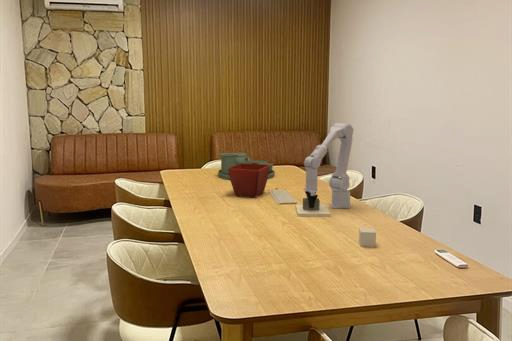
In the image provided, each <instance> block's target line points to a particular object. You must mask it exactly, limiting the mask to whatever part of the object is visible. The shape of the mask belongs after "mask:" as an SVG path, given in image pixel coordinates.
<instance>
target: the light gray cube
mask: <svg viewBox="0 0 512 341" xmlns="http://www.w3.org/2000/svg"><path fill="white" fill-rule="evenodd" d="M358 230H359V231H358V244H359V246H360V247H372V248H373V247H375V248H376V245H377V243H376V241H377V231H376V229H375V228H373V227H359V228H358Z"/></svg>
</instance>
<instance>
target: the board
mask: <svg viewBox="0 0 512 341" xmlns="http://www.w3.org/2000/svg"><path fill="white" fill-rule="evenodd" d="M294 205H295V211H296V214H297V217H302V218H303V217H306V218H307V217H308V218H309V217H312V218H313V217H316V218H318V217H321V218H322V217H326V218H327V217H328V218H329V217H331V215H332V214H331V211H330V210H329V208H328V206H327V204H320V206H319V210H303V204H294Z"/></svg>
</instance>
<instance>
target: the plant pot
mask: <svg viewBox="0 0 512 341" xmlns="http://www.w3.org/2000/svg"><path fill="white" fill-rule="evenodd" d="M269 168H270V165H262V164H253V163H252V164H246V163H240V164H237V165H235V166H232V167H230V168H228V171H229V176H230V180H229V181H230V184H231V186H232V190H233V192H234V194H235V197H244V198H245V197H246V198H257V197H258V196H259V197H260V195H262V194H264V191H265V189H266V186H267V182H268V180H269V179H268V174H269Z"/></svg>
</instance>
